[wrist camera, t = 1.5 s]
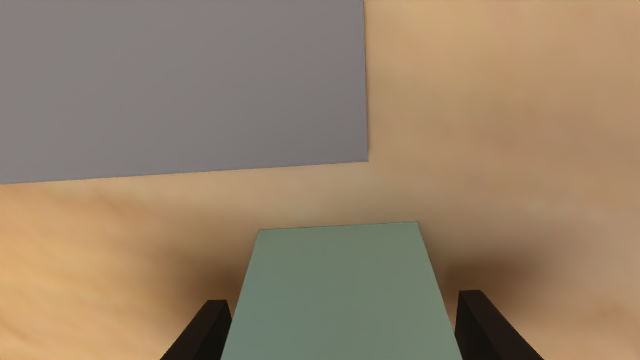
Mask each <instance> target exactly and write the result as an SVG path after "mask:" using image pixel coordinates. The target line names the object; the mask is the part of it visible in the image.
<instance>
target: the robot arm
mask: <svg viewBox="0 0 640 360" xmlns="http://www.w3.org/2000/svg"><path fill="white" fill-rule="evenodd" d="M231 323H232V318H231V314H230V311H229V307H228V303H227V300H208V301H207V302H206V303H205V304H204V305H203V306H202V308H201V309H200V310H199V312H198V313H197V314H196V315H195V317H194V318H193V319H192V321H191V322H190V323H189V324H188V326H187V327H186V328H185V330H184V331H183V332H182V333H181V335H180V336H179V337H178V338H177V340H176V341H175V342H174V343H173V344H172V346H171V347H170V348H169V349H168V350H167V352H166V353H165V354H164V355H163V357H162V358H161V359H160V360H221V357H222V353H223V350H224V347H225V343H226V340H227V337H228V333H229V330H230V326H231ZM454 335H455V338H456V341H457V344H458V347H459V351H460V354H461V357H462V360H544V359H543V358H542V357H541V356H540V355H539V354H538V353H537V352H536V351H535V350H534V349H533V348H532V347H531V346H530V345H529V344H528V343H527V342H526V341H525V340H524V338H523V337H522V336H521V335H520V334H519V333H518V332H517V331H516V330H515V329H514V328H513V327H512V325H511V324H510V323H509V322H508V321H507V320H506V319H505V318H504V316H503V315H502V314H501V313H500V312H499V311H498V310H497V308H496V307H495V306H494V305H493V304H492V302H491V301H490V300H489V299H488V298H487V297H486V295H485V294H484V293H483V292H482V291H481V290H465V291H459V298H458V307H457V316H456V325H455V334H454Z"/></svg>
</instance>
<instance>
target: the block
mask: <svg viewBox="0 0 640 360" xmlns="http://www.w3.org/2000/svg"><path fill="white" fill-rule="evenodd" d="M221 360H462V357H461V354H460V351H459V347H458V344H457V341H456V338H455V335H454V332H453V329H452V326H451V323H450V320H449V317H448V314H447V311H446V308H445V305H444V302H443V299H442V296H441V293H440V290H439V287H438V283H437V280H436V277H435V274H434V271H433V268H432V265H431V262H430V259H429V256H428V253H427V250H426V247H425V244H424V241H423V238H422V235H421V232H420V229H419V226H418V223H417V222H401V223H381V224H362V225H342V226H323V227H303V228H283V229H264V230H259V232H258V235H257V239H256V242H255V245H254V249H253V252H252V255H251V259H250V262H249V266H248V269H247V272H246V276H245V279H244V282H243V286H242V289H241V293H240V296H239V299H238V303H237V306H236V310H235V313H234V316H233V320H232V323H231V326H230V330H229V333H228V337H227V340H226V343H225V347H224V350H223V353H222V357H221Z"/></svg>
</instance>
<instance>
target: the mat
mask: <svg viewBox="0 0 640 360" xmlns="http://www.w3.org/2000/svg"><path fill="white" fill-rule="evenodd" d="M366 161H368V141H367V109H366V77H365V44H364V12H363V0H0V184H14V183H30V182H46V181H62V180H78V179H94V178H110V177H126V176H142V175H158V174H174V173H190V172H206V171H222V170H238V169H254V168H270V167H286V166H302V165H318V164H334V163H350V162H366Z"/></svg>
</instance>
